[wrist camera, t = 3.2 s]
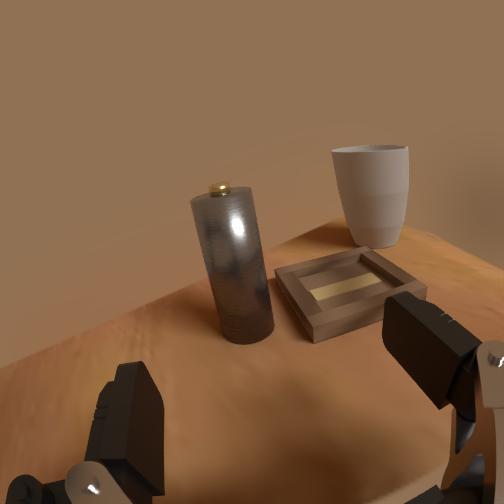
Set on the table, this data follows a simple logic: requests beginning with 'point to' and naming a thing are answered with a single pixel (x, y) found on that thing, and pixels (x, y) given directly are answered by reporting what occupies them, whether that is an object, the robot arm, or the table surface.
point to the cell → (234, 261)
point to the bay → (343, 290)
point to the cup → (373, 191)
